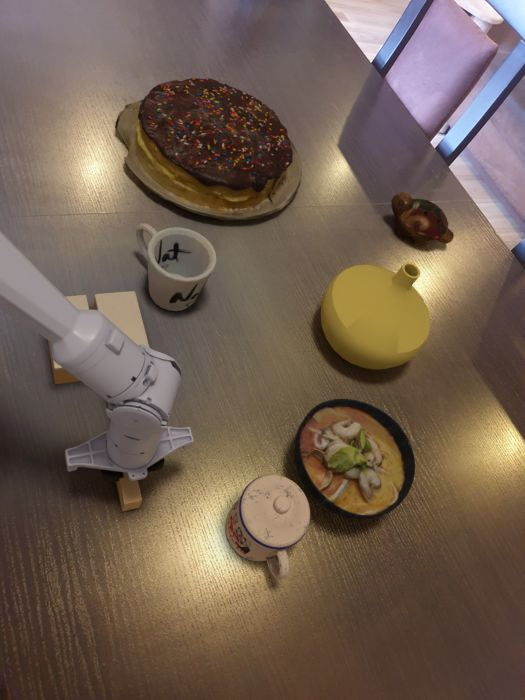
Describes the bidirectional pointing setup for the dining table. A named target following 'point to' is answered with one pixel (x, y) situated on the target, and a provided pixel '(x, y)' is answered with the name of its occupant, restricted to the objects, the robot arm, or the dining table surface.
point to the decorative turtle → (420, 220)
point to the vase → (375, 316)
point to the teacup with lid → (268, 521)
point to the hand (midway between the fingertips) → (124, 472)
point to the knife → (128, 491)
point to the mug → (176, 265)
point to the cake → (210, 150)
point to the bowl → (353, 459)
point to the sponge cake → (118, 311)
